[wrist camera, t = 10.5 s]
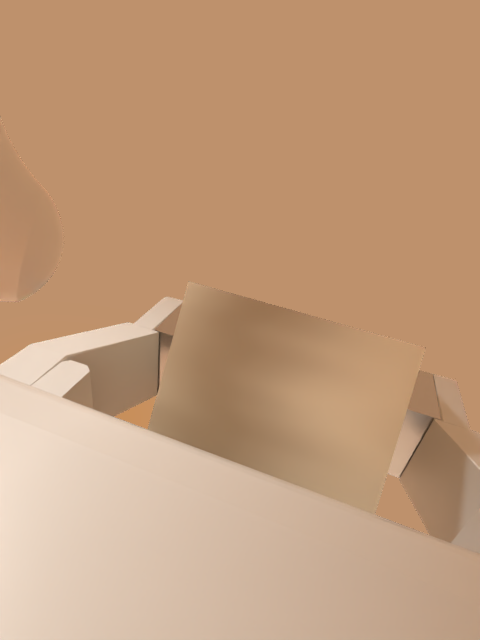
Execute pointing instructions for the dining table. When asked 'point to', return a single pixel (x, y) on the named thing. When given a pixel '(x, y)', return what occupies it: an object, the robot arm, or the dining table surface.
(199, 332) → the pine bar
